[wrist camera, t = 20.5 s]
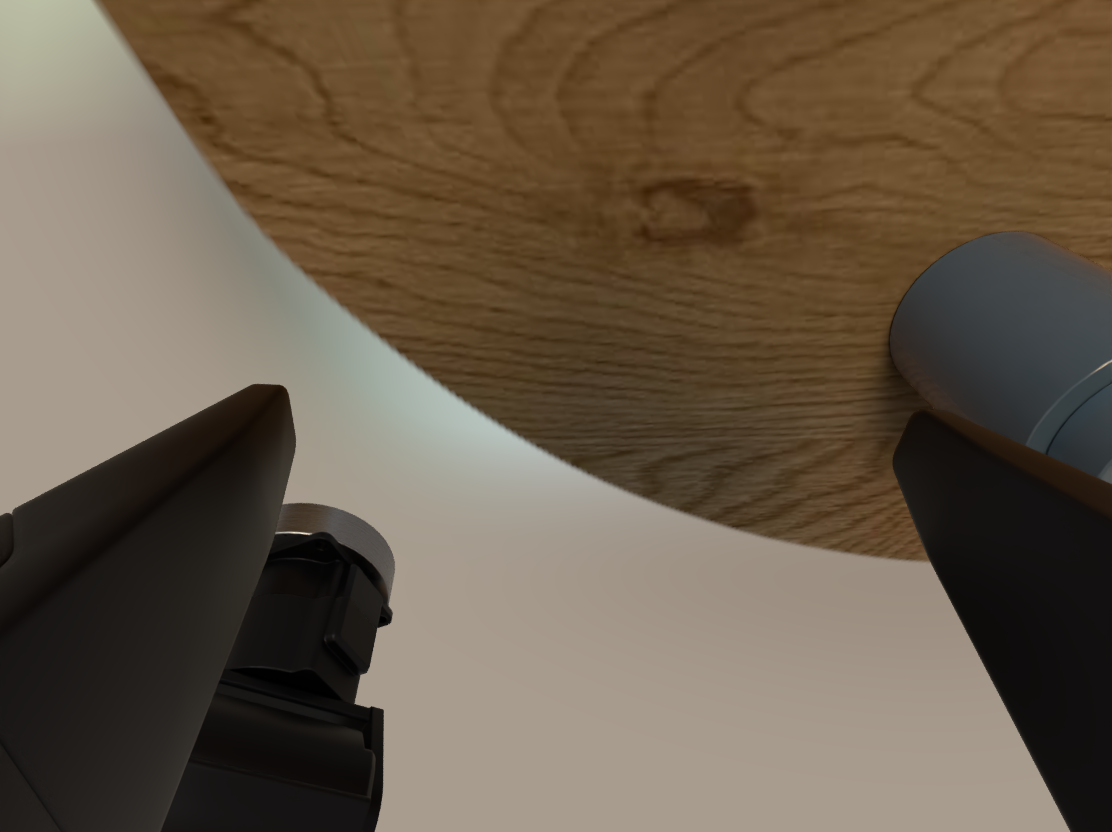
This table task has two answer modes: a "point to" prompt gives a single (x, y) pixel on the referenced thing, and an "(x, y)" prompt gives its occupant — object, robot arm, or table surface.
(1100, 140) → the table surface
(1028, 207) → the table surface
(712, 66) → the table surface
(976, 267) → the jar
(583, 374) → the table surface
